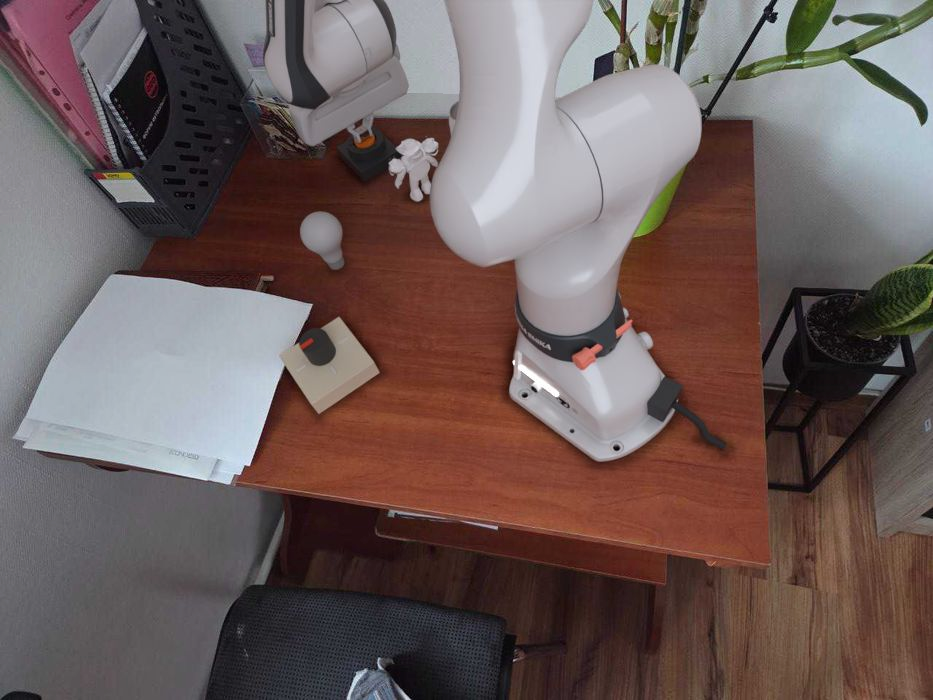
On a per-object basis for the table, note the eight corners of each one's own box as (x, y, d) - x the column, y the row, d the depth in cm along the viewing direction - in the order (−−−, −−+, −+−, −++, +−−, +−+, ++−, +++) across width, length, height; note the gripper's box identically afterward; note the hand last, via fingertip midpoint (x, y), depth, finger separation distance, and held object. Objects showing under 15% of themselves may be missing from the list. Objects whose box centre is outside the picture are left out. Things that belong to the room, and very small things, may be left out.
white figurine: (406, 213, 101) (389, 156, 91) (394, 200, 103) (375, 143, 93) (450, 185, 103) (438, 126, 93) (437, 174, 105) (424, 114, 95)
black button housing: (402, 159, 108) (397, 141, 105) (364, 182, 107) (358, 164, 103) (376, 135, 113) (370, 117, 109) (339, 156, 111) (332, 138, 108)
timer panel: (379, 372, 86) (374, 361, 83) (318, 414, 84) (310, 404, 81) (345, 327, 91) (338, 315, 88) (286, 365, 89) (277, 354, 86)
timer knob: (326, 336, 86) (317, 321, 83) (341, 354, 84) (332, 339, 81) (303, 353, 86) (292, 338, 82) (317, 371, 84) (307, 357, 80)
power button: (380, 146, 107) (378, 138, 106) (363, 157, 106) (360, 148, 105) (370, 137, 109) (367, 128, 107) (353, 146, 108) (350, 138, 107)
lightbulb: (356, 279, 95) (334, 230, 86) (318, 284, 96) (291, 237, 86) (357, 249, 99) (336, 199, 89) (320, 254, 99) (295, 205, 90)
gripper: (384, 27, 98) (403, 101, 110) (273, 86, 94) (305, 157, 105) (405, 43, 95) (423, 117, 107) (291, 105, 91) (322, 176, 102)
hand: (363, 138), depth 106 cm, fingers closed, pressing on power button
